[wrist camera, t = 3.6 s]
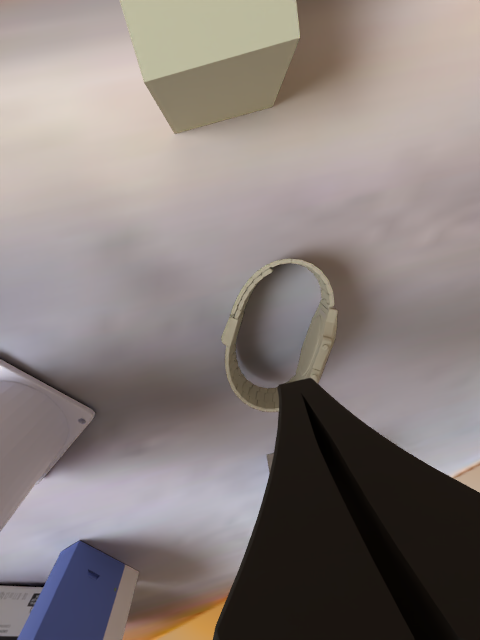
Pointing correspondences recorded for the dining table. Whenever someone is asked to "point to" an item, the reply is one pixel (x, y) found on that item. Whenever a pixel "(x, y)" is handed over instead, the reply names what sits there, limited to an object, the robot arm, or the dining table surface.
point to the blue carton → (83, 598)
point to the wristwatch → (312, 349)
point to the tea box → (16, 609)
